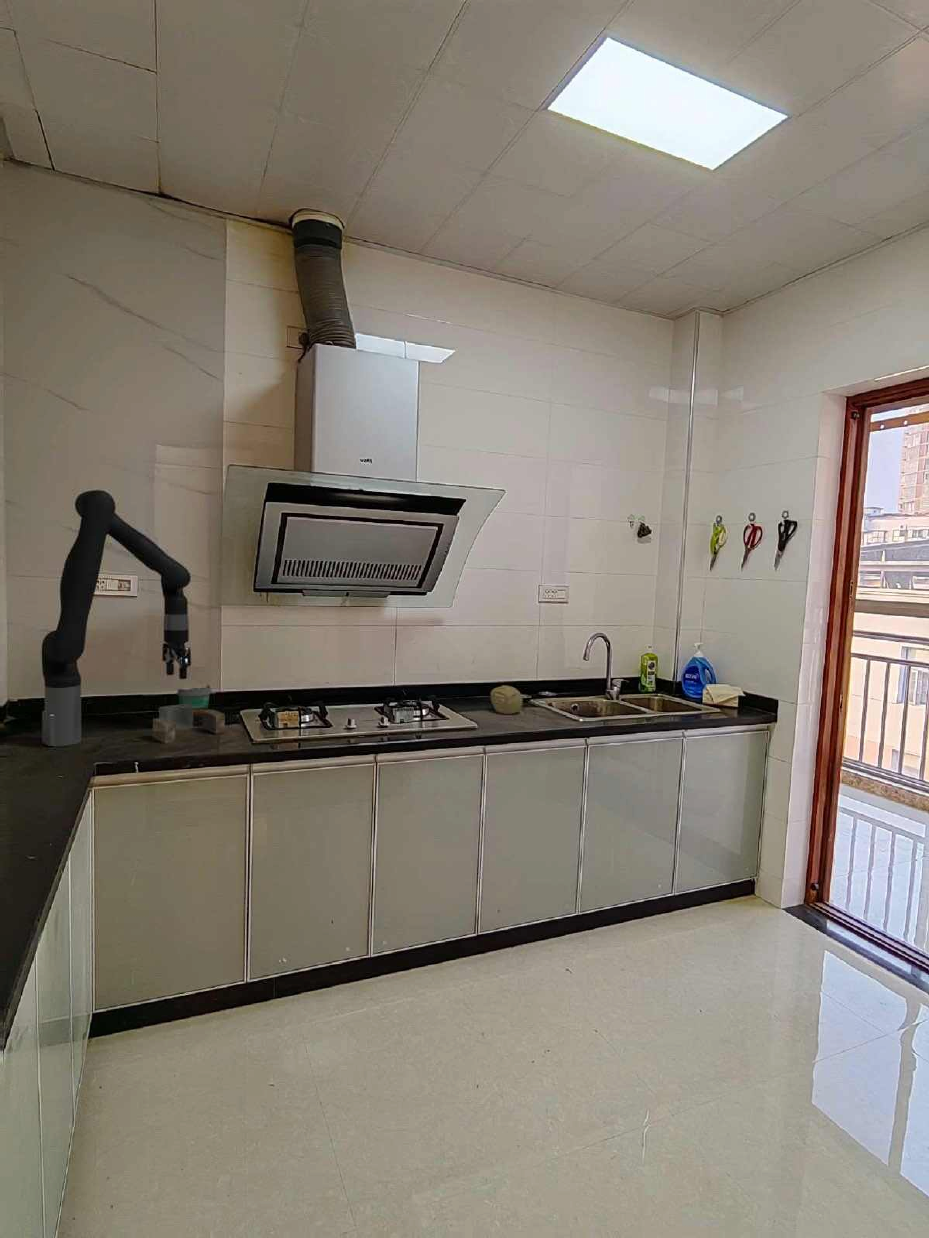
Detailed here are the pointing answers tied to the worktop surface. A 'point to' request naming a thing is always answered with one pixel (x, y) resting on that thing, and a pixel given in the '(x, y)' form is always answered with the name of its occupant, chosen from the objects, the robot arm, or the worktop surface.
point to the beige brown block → (164, 730)
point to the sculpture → (506, 699)
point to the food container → (195, 699)
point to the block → (178, 715)
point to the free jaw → (213, 721)
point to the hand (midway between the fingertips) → (176, 676)
